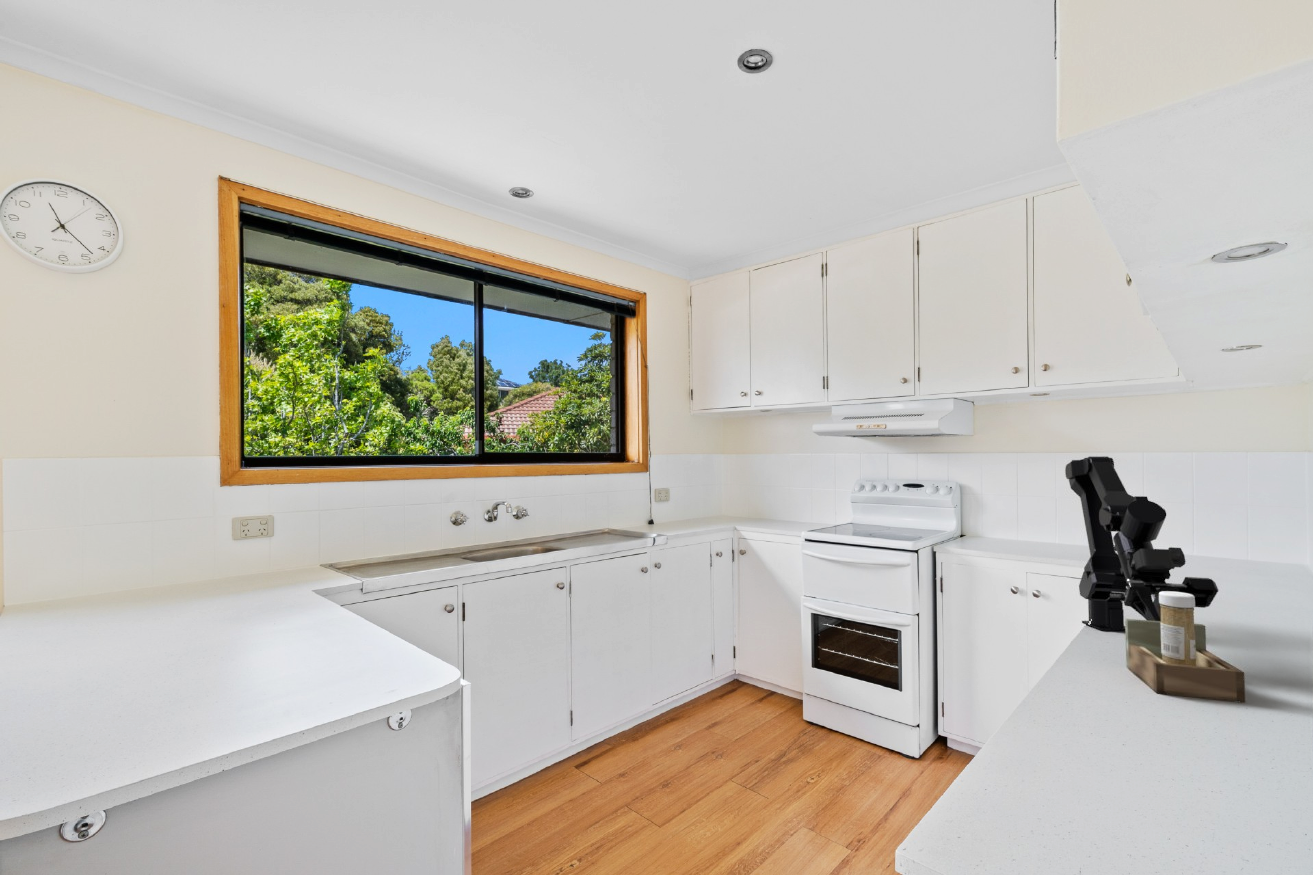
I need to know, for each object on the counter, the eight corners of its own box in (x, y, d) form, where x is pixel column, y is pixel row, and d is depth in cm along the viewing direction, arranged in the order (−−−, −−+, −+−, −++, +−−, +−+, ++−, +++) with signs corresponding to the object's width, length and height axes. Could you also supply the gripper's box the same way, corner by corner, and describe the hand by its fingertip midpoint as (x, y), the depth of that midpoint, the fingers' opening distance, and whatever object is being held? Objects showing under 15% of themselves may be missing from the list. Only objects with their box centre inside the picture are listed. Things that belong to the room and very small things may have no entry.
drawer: (1126, 666, 111) (1125, 618, 112) (1203, 674, 108) (1202, 624, 108) (1153, 690, 100) (1152, 636, 100) (1240, 699, 96) (1239, 643, 97)
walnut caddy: (1128, 669, 110) (1128, 643, 110) (1206, 676, 107) (1206, 649, 107) (1156, 693, 99) (1156, 664, 99) (1245, 702, 95) (1244, 672, 95)
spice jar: (1205, 681, 101) (1202, 595, 101) (1177, 681, 101) (1175, 596, 101) (1179, 671, 105) (1177, 589, 106) (1153, 671, 105) (1151, 590, 106)
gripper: (1088, 528, 119) (1109, 601, 108) (1211, 532, 112) (1247, 610, 102) (1077, 563, 126) (1095, 635, 115) (1192, 569, 119) (1223, 645, 109)
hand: (1162, 631), depth 110 cm, fingers closed, pressing on drawer
